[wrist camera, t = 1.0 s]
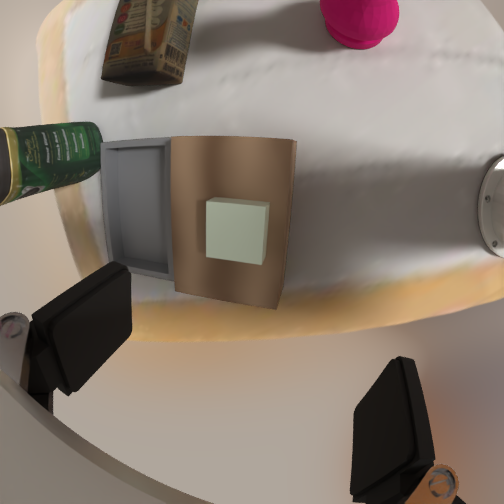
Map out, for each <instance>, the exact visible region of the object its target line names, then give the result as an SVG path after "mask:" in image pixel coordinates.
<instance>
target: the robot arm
mask: <svg viewBox="0 0 504 504" xmlns="http://www.w3.org/2000/svg"><path fill="white" fill-rule="evenodd" d="M478 220H479V226H480V230H481V234H482V237H483V239H484V241H485V243H486V245H487V246H488V247H489V248H490V249H491V251H493V252H494V253H495V254H496V255H498V256H500V257H502V258H504V156H503V157H501V158H499V159H498V160H497V161H496V162H494V163H493V164H492V166H491V167H490V169H489V170H488V172H487V174H486V176H485V178H484V180H483V183H482V186H481V189H480V195H479V201H478ZM32 319H33V320H32V321H31V322H29V320H28V318H27V317H26V316H25V315H24V314H22V313H18V312H10V313H7V314H4V315H3V316H1V317H0V504H214V503H211V502H208V501H205V500H202V499H199V498H196V497H194V496H191V495H189V494H186V493H183V492H181V491H179V490H176V489H174V488H171V487H169V486H167V485H164V484H163V483H160V482H158V481H156V480H154V479H152V478H150V477H148V476H146V475H144V474H142V473H140V472H138V471H136V470H134V469H132V468H131V467H129V466H127V465H125V464H123V463H122V462H120V461H118V460H117V459H115V458H113V457H111V456H110V455H108V454H107V453H105V452H103V451H102V450H100V449H99V448H97V447H96V446H94V445H93V444H91V443H89V442H88V441H87V440H85V439H83V438H82V437H81V436H79V435H78V434H77V433H75V432H74V431H73V430H71V429H70V428H69V427H67V426H66V425H65V424H63V423H62V422H61V421H59V420H58V419H57V418H56V417H54V416H53V391H54V390H55V389H56V388H58V389H59V390H60V391H62V392H63V393H64V394H66V395H67V396H69V395H70V394H71V393H72V392H77V391H78V390H79V389H80V388H81V387H82V386H83V385H84V384H85V383H86V382H87V380H89V378H90V377H91V376H92V375H93V374H94V373H95V372H96V371H97V370H98V369H99V368H100V367H101V366H102V365H103V364H104V363H105V362H106V360H107V359H108V358H109V357H110V356H111V355H112V354H113V353H114V352H115V351H116V350H117V349H118V348H119V347H120V346H121V345H122V344H123V343H124V342H125V341H126V340H127V339H128V338H129V336H130V335H131V332H132V308H131V273H130V272H129V270H128V267H127V266H125V265H123V264H120V263H118V262H116V261H112V262H110V263H108V264H106V265H105V266H103V267H102V268H100V269H98V270H97V271H95V272H94V273H92V274H91V275H89V276H88V277H86V278H84V279H83V280H81V281H80V282H78V283H77V284H75V285H74V286H73V287H71V288H69V289H68V290H66V291H65V292H63V293H62V294H60V295H59V296H57V297H56V298H55V299H53V300H52V301H50V302H49V303H47V304H46V305H45V306H43V307H42V308H40V309H39V310H37V311H36V312H35V313H33V314H32ZM353 422H354V423H353V452H352V453H353V454H352V470H351V483H350V494H351V495H353V502H358V503H366V504H466V503H465V502H464V501H462V500H461V499H460V498H459V497H458V496H457V495H456V494H457V492H458V489H459V480H458V476H457V475H456V472H455V471H454V470H453V469H452V468H451V467H450V466H448V465H444V464H437V465H435V466H434V462H433V461H434V460H435V453H434V446H433V440H432V434H431V429H430V424H429V418H428V413H427V409H426V404H425V400H424V395H423V391H422V387H421V384H420V379H419V376H418V372H417V368H416V365H415V361H414V360H413V359H410V358H406V357H401V356H399V357H397V358H396V359H392V360H391V361H390V362H389V363H388V365H387V366H386V368H385V369H384V370H383V372H382V373H381V375H380V376H379V377H378V379H377V380H376V382H375V383H374V384H373V386H372V387H371V388H370V389H369V391H368V392H367V393H366V395H365V396H364V397H363V399H362V400H361V401H360V402H359V404H358V405H357V406H356V408H355V411H354V419H353Z"/></svg>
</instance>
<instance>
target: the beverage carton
mask: <svg viewBox="0 0 504 504" xmlns="http://www.w3.org/2000/svg"><path fill="white" fill-rule="evenodd" d="M197 4H198V0H120V1H119V4H118V7H117V10H116V14H115V17H114V21H113V24H112V28H111V31H110V36H109V40H108V44H107V49H106V53H105V59H104V64H103V70H102V76H101V79H102V80H105V81H109V82H113V83H117V84H122V85H127V86H144V85H164V84H181V83H182V81H183V75H184V70H185V64H186V59H187V53H188V48H189V43H190V37H191V32H192V27H193V22H194V17H195V12H196V8H197Z"/></svg>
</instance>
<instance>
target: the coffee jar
mask: <svg viewBox="0 0 504 504" xmlns="http://www.w3.org/2000/svg"><path fill="white" fill-rule="evenodd" d="M101 143H103V140H102V136H101V133H100V131H99V128H98V127H97V126H96V124H94V123H93V122H71V123H59V124H47V125H36V126H27V127H16V128H11V127H2V128H0V206H1V205H4V204H7V203H9V202H12V201H15V200H18V199H21V198H24V197H27V196H30V195H34V194H37V193H41V192H44V191H48V190H51V189H55V188H59V187H63V186H67V185H70V184H74V183H78V182H81V181H83V180H85V179H87V178H89V177H91V176H92V175H94V174H95V173H96V172H98V171H99V169H100V168H101Z"/></svg>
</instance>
